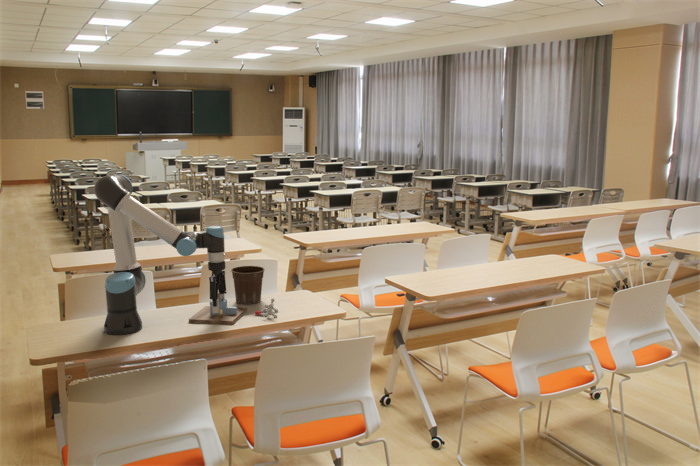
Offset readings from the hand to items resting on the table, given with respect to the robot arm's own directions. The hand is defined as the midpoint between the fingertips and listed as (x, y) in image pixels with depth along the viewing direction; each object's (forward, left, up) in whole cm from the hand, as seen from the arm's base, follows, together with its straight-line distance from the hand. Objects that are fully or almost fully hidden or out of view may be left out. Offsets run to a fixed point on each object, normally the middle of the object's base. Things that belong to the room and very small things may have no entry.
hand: (219, 310), depth 267 cm
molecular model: (+21, +6, -3) cm, 22 cm away
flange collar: (+2, 0, -1) cm, 3 cm away
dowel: (+3, -6, -1) cm, 7 cm away
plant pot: (+6, +26, -3) cm, 27 cm away
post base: (0, 0, -3) cm, 3 cm away
